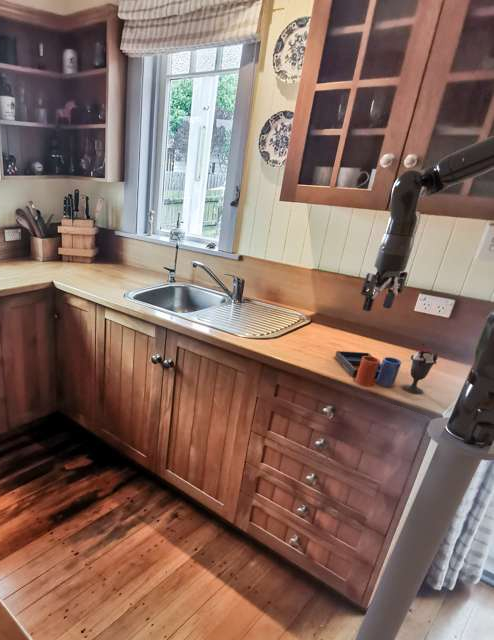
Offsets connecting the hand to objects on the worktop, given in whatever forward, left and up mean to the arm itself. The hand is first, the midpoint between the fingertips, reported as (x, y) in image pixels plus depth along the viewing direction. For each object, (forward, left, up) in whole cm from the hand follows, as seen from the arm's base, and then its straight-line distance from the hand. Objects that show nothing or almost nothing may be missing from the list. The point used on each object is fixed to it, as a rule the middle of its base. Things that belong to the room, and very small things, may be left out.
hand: (376, 309), depth 131 cm
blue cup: (+2, -10, -24) cm, 26 cm away
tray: (+13, -7, -24) cm, 29 cm away
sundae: (-1, -17, -24) cm, 30 cm away
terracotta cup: (+2, -4, -24) cm, 25 cm away
